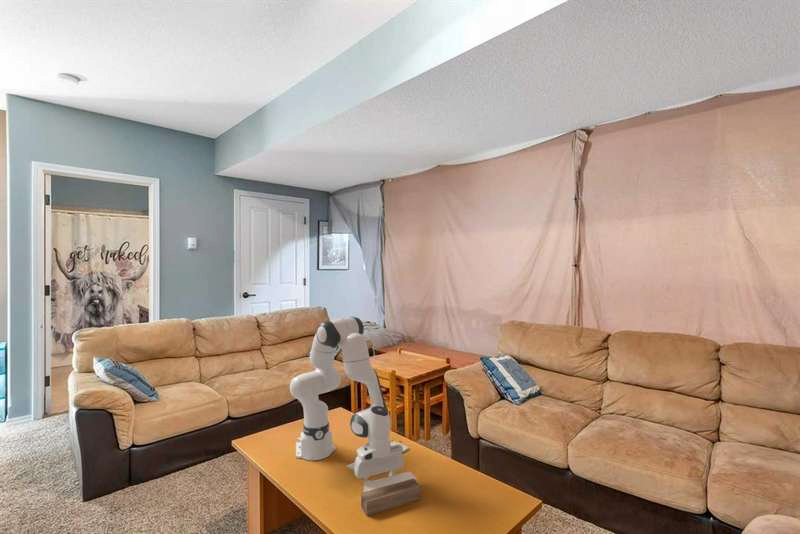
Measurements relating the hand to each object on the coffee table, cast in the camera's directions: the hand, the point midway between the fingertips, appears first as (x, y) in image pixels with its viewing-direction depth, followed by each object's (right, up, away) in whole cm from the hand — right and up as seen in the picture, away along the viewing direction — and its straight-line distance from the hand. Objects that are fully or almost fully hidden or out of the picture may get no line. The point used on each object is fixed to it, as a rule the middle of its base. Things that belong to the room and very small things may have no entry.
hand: (379, 483), depth 155 cm
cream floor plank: (+5, -2, -3) cm, 6 cm away
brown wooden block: (+5, -2, -10) cm, 11 cm away
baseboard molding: (-2, -2, +24) cm, 25 cm away
